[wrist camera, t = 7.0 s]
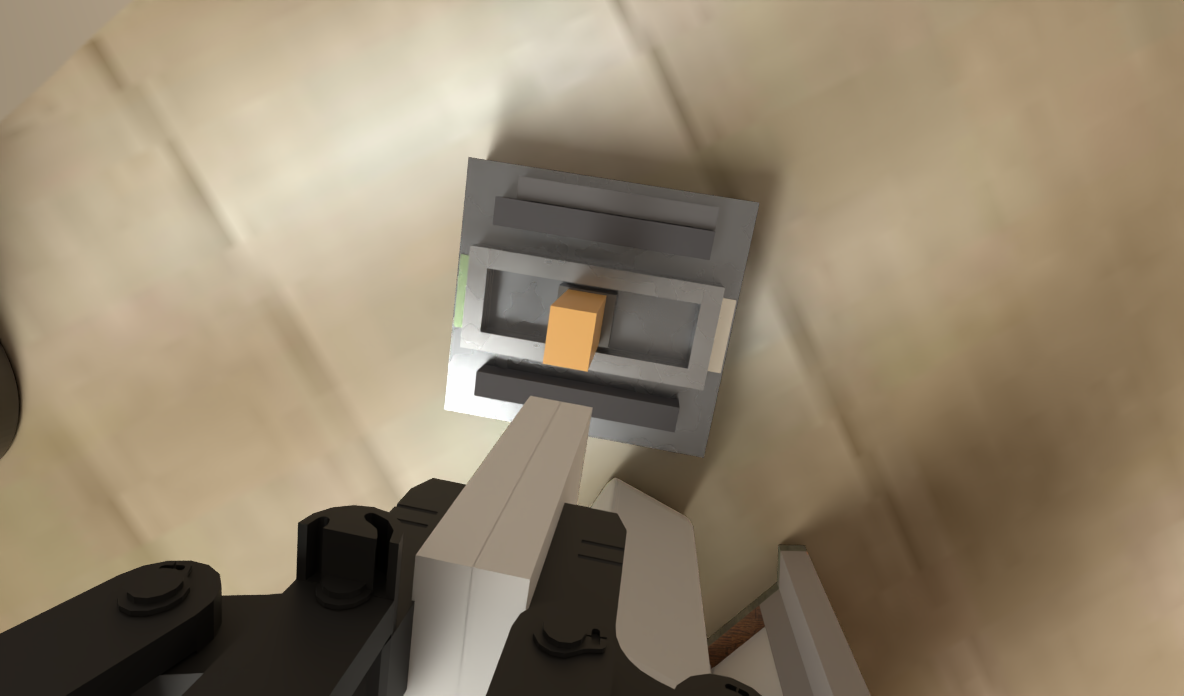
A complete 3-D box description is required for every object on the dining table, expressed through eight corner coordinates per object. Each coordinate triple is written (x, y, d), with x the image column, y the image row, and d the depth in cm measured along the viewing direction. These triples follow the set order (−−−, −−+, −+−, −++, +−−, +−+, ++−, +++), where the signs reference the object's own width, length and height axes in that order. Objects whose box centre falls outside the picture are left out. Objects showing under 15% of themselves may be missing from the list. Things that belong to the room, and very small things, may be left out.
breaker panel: (460, 393, 37) (434, 418, 32) (485, 161, 33) (459, 154, 29) (699, 437, 36) (706, 469, 31) (750, 203, 32) (764, 202, 28)
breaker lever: (555, 333, 32) (531, 363, 26) (562, 282, 31) (539, 301, 25) (609, 342, 32) (598, 375, 26) (618, 292, 31) (608, 313, 25)
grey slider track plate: (481, 387, 33) (473, 395, 32) (505, 173, 30) (498, 172, 29) (673, 423, 32) (674, 432, 31) (717, 207, 30) (720, 207, 28)
